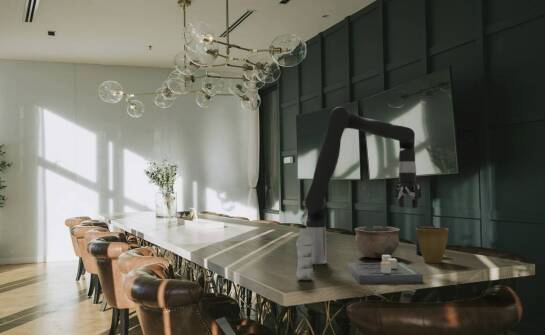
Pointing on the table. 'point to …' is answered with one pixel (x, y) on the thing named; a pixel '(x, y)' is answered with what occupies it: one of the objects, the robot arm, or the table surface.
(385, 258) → the breaker back
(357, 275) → the breaker panel
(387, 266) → the block
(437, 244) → the plant pot
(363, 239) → the ceramic bowl
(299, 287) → the table surface
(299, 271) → the plastic bottle
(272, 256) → the table surface
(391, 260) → the block
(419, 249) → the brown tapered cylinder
